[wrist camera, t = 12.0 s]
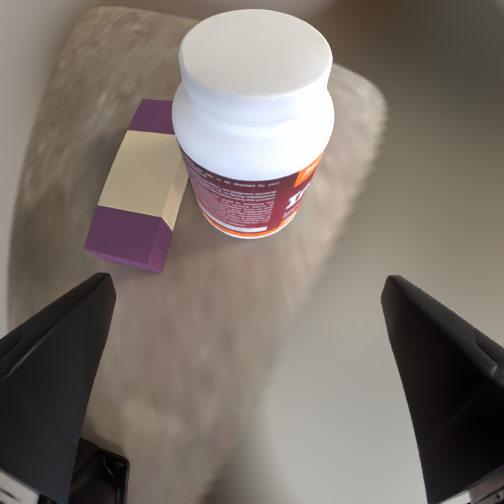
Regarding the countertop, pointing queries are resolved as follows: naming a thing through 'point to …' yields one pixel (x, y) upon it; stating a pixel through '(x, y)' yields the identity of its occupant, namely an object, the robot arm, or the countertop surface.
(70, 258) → the countertop surface
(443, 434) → the robot arm
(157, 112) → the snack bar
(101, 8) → the countertop surface
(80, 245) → the countertop surface
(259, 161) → the pill bottle
